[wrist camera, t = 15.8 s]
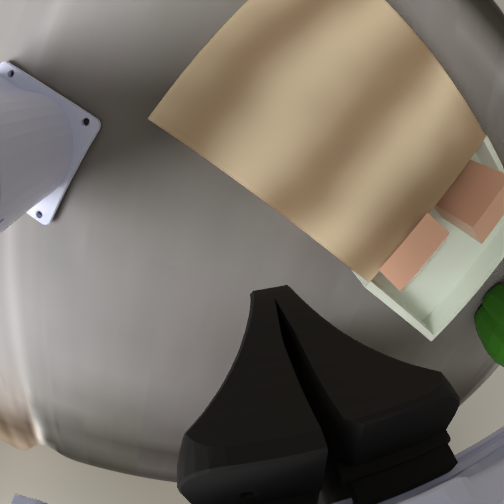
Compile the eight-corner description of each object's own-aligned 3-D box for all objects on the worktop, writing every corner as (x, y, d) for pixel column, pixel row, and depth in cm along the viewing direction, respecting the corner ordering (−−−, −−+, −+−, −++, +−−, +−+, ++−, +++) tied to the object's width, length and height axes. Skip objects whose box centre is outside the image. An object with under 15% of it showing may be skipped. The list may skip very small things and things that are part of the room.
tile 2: (472, 227, 17) (481, 244, 18) (510, 175, 16) (517, 194, 17) (431, 202, 22) (441, 217, 23) (465, 158, 21) (475, 174, 21)
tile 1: (378, 269, 20) (399, 291, 19) (427, 212, 18) (449, 232, 18) (387, 273, 24) (404, 290, 23) (427, 226, 23) (444, 243, 22)
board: (156, 116, 17) (147, 118, 15) (301, -41, 13) (316, -59, 11) (351, 261, 24) (368, 282, 21) (460, 129, 20) (486, 136, 17)
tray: (351, 270, 24) (365, 287, 22) (465, 129, 20) (487, 135, 18) (418, 325, 28) (431, 341, 26) (509, 214, 24) (526, 224, 22)
